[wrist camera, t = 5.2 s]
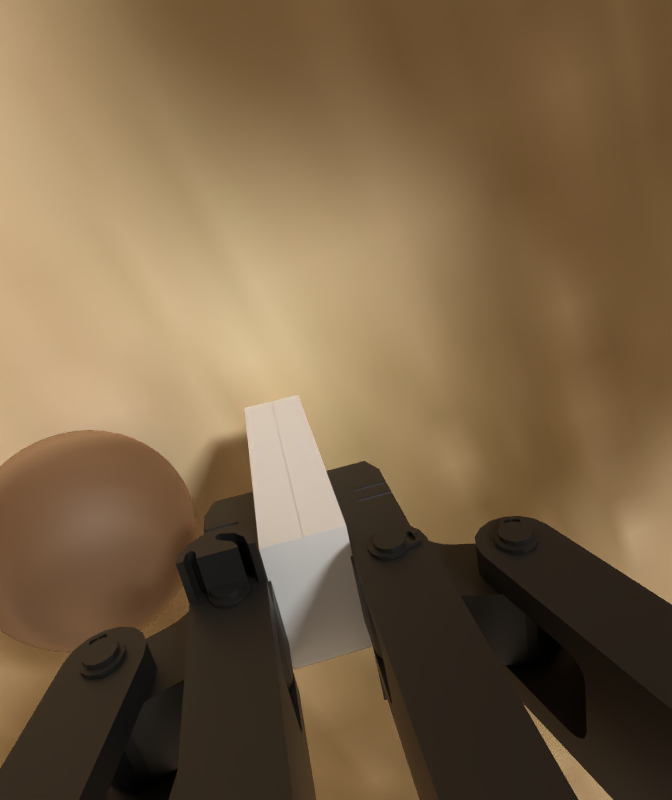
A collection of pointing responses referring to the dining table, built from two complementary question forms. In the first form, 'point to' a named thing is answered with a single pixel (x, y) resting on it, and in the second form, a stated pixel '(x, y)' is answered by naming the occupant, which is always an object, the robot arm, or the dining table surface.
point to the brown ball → (88, 537)
